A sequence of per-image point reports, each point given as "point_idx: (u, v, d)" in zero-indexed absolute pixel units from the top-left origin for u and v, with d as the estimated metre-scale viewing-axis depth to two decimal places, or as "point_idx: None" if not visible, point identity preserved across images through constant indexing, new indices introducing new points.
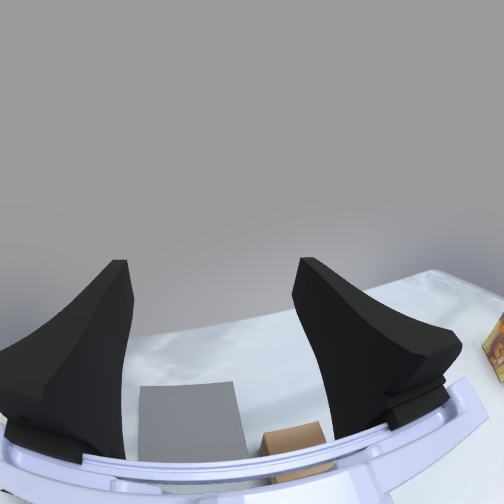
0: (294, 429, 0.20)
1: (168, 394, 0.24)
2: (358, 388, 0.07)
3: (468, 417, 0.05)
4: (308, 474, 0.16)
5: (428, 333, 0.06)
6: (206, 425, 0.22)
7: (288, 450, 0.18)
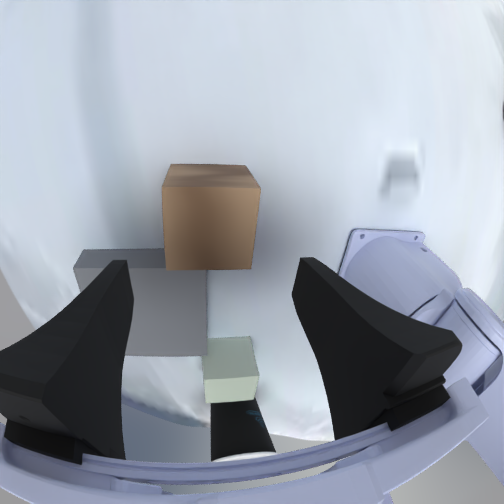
0: (167, 228, 0.14)
1: None
2: (358, 388, 0.07)
3: (468, 417, 0.05)
4: (254, 230, 0.15)
5: (428, 333, 0.06)
6: (141, 303, 0.19)
7: (203, 245, 0.15)
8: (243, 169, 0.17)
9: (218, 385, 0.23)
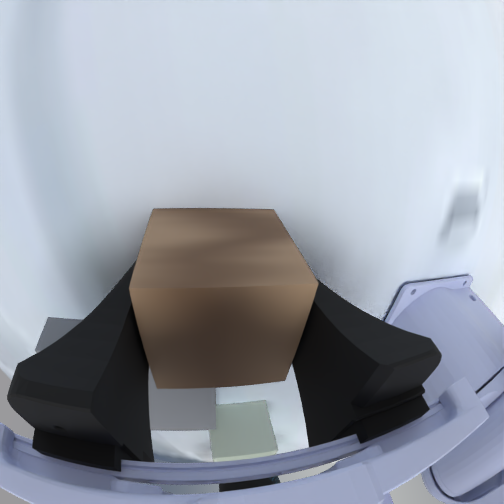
0: (151, 346, 0.08)
1: None
2: (328, 396, 0.07)
3: (468, 417, 0.05)
4: (297, 340, 0.09)
5: (403, 341, 0.06)
6: None
7: (212, 364, 0.08)
8: (273, 221, 0.10)
9: (229, 459, 0.16)
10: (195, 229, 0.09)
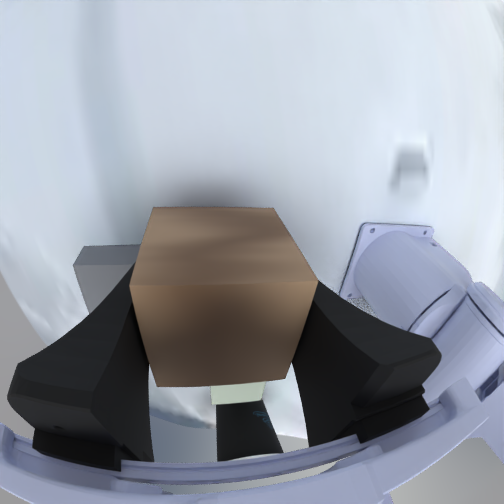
0: (151, 343, 0.08)
1: None
2: (328, 396, 0.07)
3: (468, 417, 0.05)
4: (297, 338, 0.09)
5: (403, 341, 0.06)
6: None
7: (212, 362, 0.09)
8: (273, 220, 0.10)
9: (224, 386, 0.22)
10: (195, 227, 0.09)
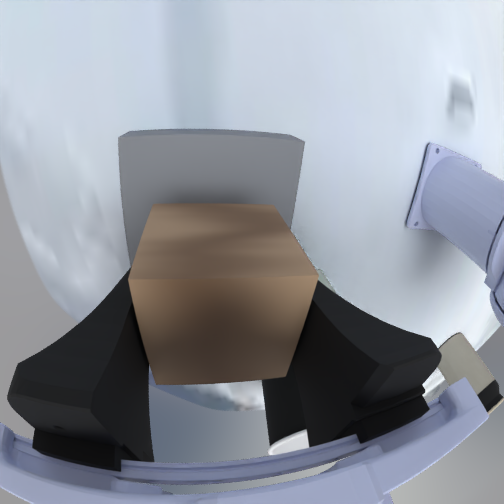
0: (150, 339, 0.08)
1: None
2: (328, 396, 0.07)
3: (468, 417, 0.05)
4: (297, 335, 0.09)
5: (402, 341, 0.06)
6: (209, 193, 0.15)
7: (211, 359, 0.08)
8: (273, 216, 0.10)
9: None
10: (195, 223, 0.09)
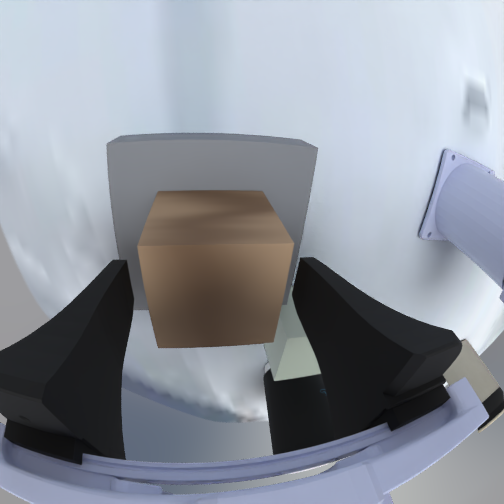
0: (153, 301, 0.09)
1: (139, 269, 0.14)
2: (358, 388, 0.07)
3: (468, 417, 0.05)
4: (280, 299, 0.10)
5: (428, 333, 0.06)
6: None
7: (206, 321, 0.10)
8: (261, 199, 0.12)
9: (302, 348, 0.17)
10: (193, 205, 0.11)
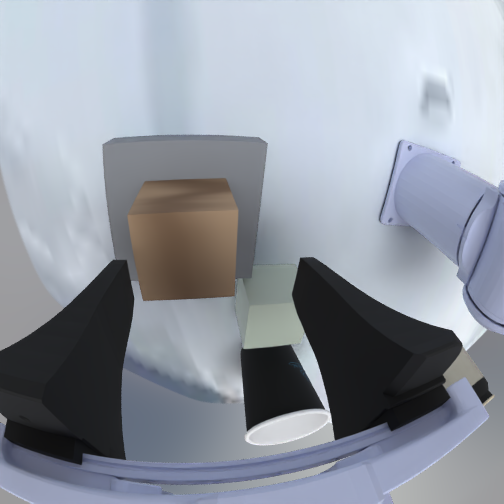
0: (139, 258, 0.12)
1: (127, 244, 0.17)
2: (358, 388, 0.07)
3: (468, 417, 0.05)
4: (234, 256, 0.13)
5: (428, 333, 0.06)
6: None
7: (178, 274, 0.13)
8: (222, 184, 0.15)
9: (264, 316, 0.20)
10: (170, 189, 0.14)
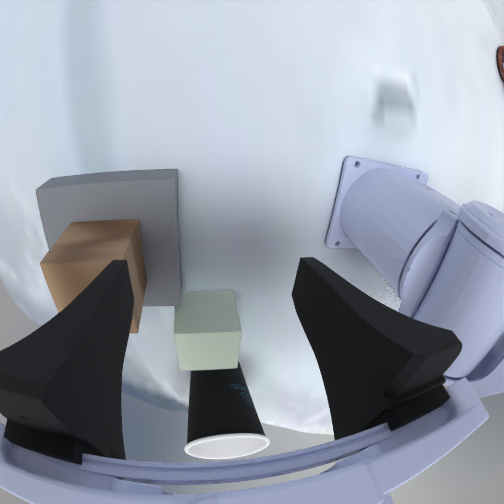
0: (55, 297, 0.12)
1: None
2: (358, 388, 0.07)
3: (468, 417, 0.05)
4: None
5: (428, 333, 0.06)
6: None
7: None
8: (130, 227, 0.15)
9: (191, 343, 0.20)
10: (83, 234, 0.14)
